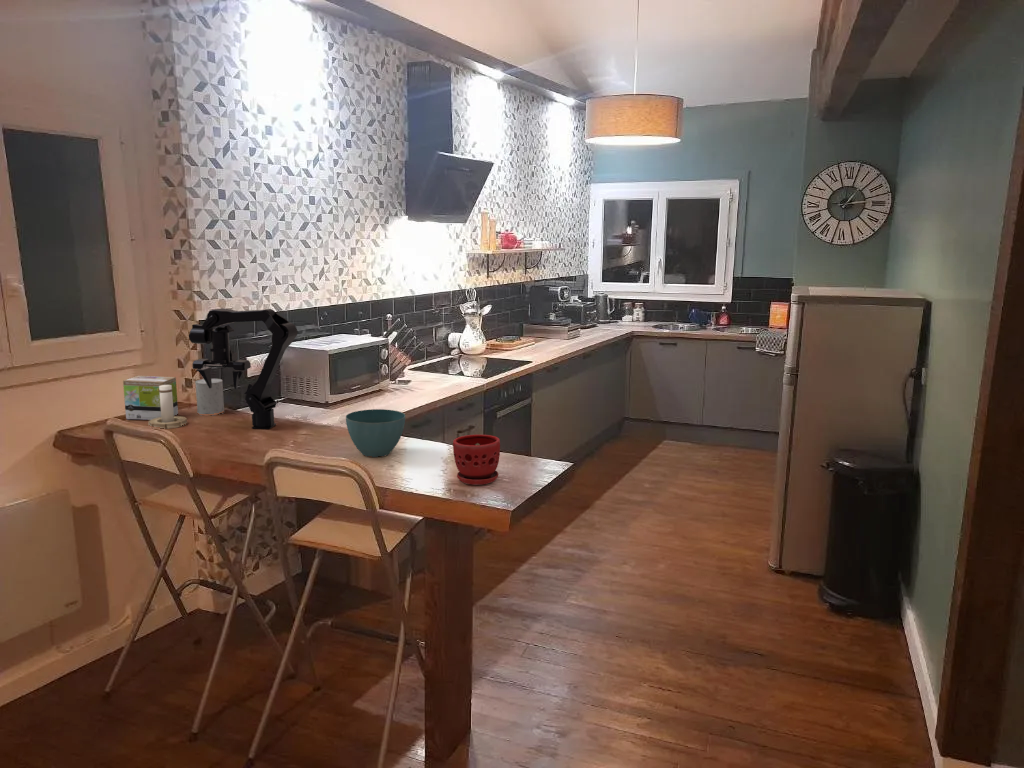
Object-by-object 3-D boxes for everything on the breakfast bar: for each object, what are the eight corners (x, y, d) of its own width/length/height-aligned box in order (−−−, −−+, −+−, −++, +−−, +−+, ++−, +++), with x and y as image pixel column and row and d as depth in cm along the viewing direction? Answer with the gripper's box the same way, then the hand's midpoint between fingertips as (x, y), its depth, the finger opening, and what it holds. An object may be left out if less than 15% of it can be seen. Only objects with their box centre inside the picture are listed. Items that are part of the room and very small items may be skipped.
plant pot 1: (380, 442, 243) (379, 406, 241) (417, 453, 232) (417, 415, 229) (334, 453, 230) (333, 415, 227) (372, 466, 218) (371, 425, 216)
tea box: (125, 420, 267) (121, 380, 264) (140, 413, 276) (136, 375, 273) (166, 421, 266) (162, 381, 263) (179, 414, 276) (176, 375, 273)
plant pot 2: (499, 472, 214) (499, 433, 211) (500, 488, 201) (500, 445, 198) (454, 472, 213) (454, 432, 211) (452, 487, 200) (452, 445, 198)
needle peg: (177, 423, 262) (174, 385, 259) (168, 426, 259) (165, 387, 256) (168, 422, 264) (165, 384, 261) (159, 425, 260) (156, 386, 257)
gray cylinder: (208, 416, 273) (206, 384, 271) (191, 413, 278) (189, 381, 275) (229, 412, 281) (228, 380, 279) (213, 408, 286) (211, 377, 283)
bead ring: (192, 421, 267) (192, 416, 266) (175, 429, 255) (175, 424, 255) (160, 419, 267) (160, 415, 267) (142, 428, 256) (142, 423, 255)
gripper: (255, 342, 265) (258, 384, 268) (205, 340, 266) (208, 383, 269) (242, 346, 254) (245, 391, 257) (190, 345, 255) (193, 389, 258)
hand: (223, 388), depth 260 cm, fingers open, 9 cm apart
